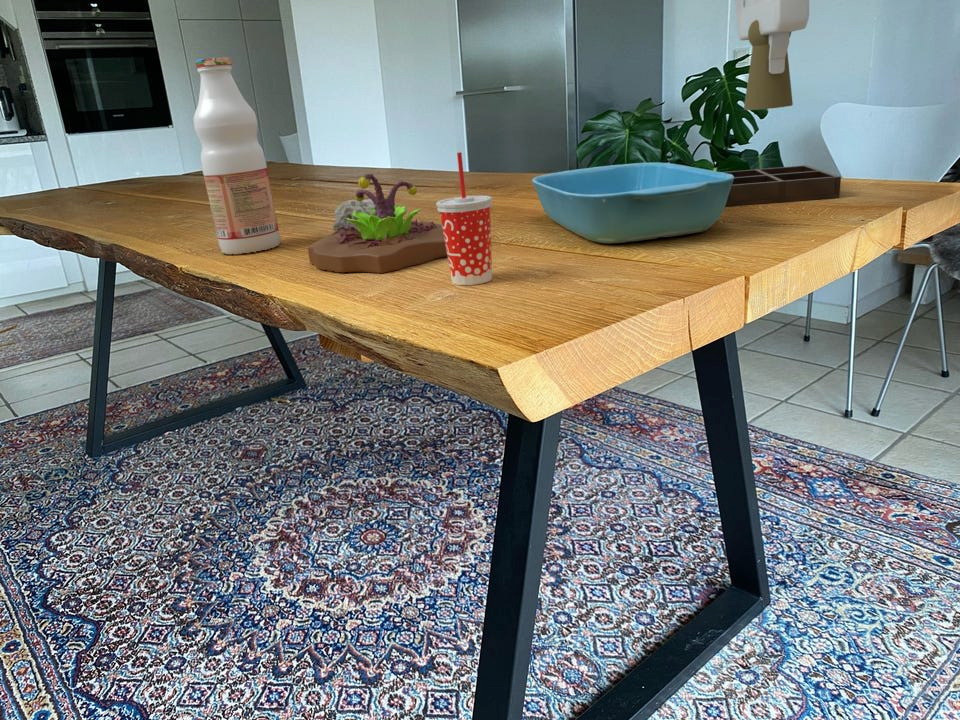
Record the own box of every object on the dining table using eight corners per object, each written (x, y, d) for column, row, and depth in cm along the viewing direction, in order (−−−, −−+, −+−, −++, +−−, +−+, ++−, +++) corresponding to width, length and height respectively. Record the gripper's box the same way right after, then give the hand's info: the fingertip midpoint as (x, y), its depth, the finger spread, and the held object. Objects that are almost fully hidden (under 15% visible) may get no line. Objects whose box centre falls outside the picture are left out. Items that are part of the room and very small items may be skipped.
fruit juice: (208, 256, 114) (164, 62, 104) (241, 243, 122) (203, 62, 112) (262, 254, 111) (222, 54, 101) (292, 241, 119) (258, 56, 110)
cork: (737, 109, 100) (738, 21, 96) (782, 104, 100) (785, 15, 96) (752, 110, 94) (753, 17, 91) (800, 105, 94) (803, 11, 90)
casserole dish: (522, 215, 122) (519, 171, 119) (651, 200, 124) (650, 156, 122) (586, 259, 87) (584, 198, 85) (763, 236, 90) (765, 177, 88)
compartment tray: (806, 183, 125) (807, 165, 124) (839, 197, 110) (841, 176, 109) (706, 191, 127) (706, 173, 126) (725, 206, 112) (725, 185, 111)
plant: (283, 267, 100) (267, 183, 96) (383, 238, 114) (373, 164, 110) (388, 278, 88) (375, 183, 84) (486, 243, 102) (479, 161, 98)
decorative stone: (322, 229, 129) (317, 200, 127) (380, 219, 133) (376, 191, 131) (342, 237, 118) (337, 206, 117) (404, 226, 123) (400, 196, 121)
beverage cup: (444, 276, 86) (430, 153, 81) (496, 270, 86) (485, 147, 82) (445, 289, 80) (430, 157, 76) (501, 283, 81) (490, 151, 76)
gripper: (827, -65, 81) (821, 69, 86) (775, -37, 100) (773, 72, 105) (767, -57, 82) (765, 76, 87) (728, -30, 101) (727, 77, 106)
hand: (769, 74), depth 96 cm, fingers closed on cork, 4 cm apart
